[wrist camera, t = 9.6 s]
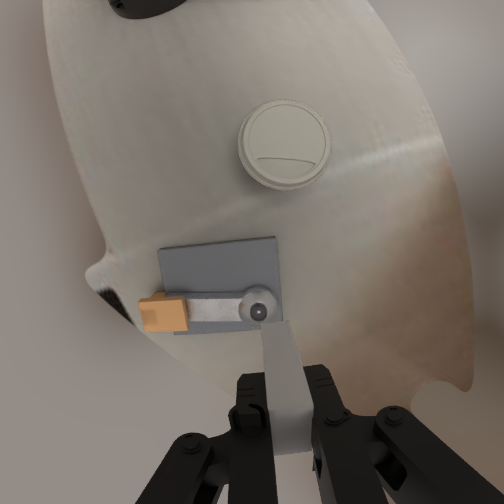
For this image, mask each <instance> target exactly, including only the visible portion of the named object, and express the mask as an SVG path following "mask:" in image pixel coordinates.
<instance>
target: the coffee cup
mask: <svg viewBox="0 0 504 504" xmlns="http://www.w3.org/2000/svg"><path fill="white" fill-rule="evenodd" d="M237 148H238V154H239V158H240V160H241V163H242V165H243V166H244V168H245V170H246V171H247V172H248V173H249V175H250V176H251V177H252V178H254V179H255V180H256V181H257V182H259V183H261V184H262V185H264V186H266V187H269V188H272V189H276V190H283V191H289V190H296V189H300V188H303V187H305V186H307V185H309V184H311V183H312V182H314V181H315V180H316V179H317V178H318V177H319V176H320V175H321V174H322V173H323V171H324V170H325V168H326V166H327V164H328V162H329V159H330V156H331V148H332V144H331V137H330V133H329V130H328V128H327V126H326V124H325V122H324V121H323V119H322V118H321V117H320V116H319V115H318V114H317V113H316V112H315V111H314V110H313V109H312V108H310V107H308V106H307V105H305V104H302V103H300V102H297V101H293V100H273V101H269V102H266V103H264V104H262V105H260V106H258V107H257V108H255V109H254V110H253V111H252V112H251V113H250V114H249V115H248V116H247V117H246V119H245V120H244V122H243V123H242V125H241V127H240V130H239V133H238V139H237Z"/></svg>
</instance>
